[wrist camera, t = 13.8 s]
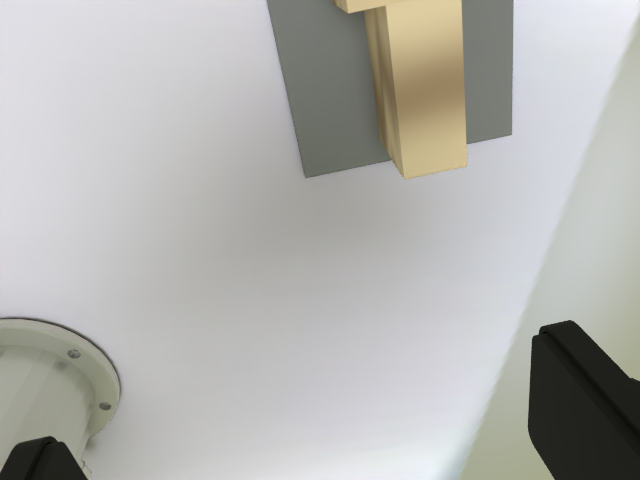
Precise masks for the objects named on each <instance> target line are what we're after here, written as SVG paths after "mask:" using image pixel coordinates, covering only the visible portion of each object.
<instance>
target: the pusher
mask: <svg viewBox="0 0 640 480" xmlns="http://www.w3.org/2000/svg"><path fill="white" fill-rule="evenodd" d="M332 3H333V4H334V5H336V6H337V7H339V8H341V9H342V10H344V11H345V12H347V13H353V12H357V11H362V10H364V15H365V23H366V31H367V39H368V46H369V54H370V62H371V70H372V78H373V86H374V94H375V102H376V109H377V117H378V125H379V133H380V141H381V143H382V145H383V146H384V148H385V149H386V151H387V153H388V154H389V156H390V157H391V159H392V161H393V162H394V164H395V165H396V167H397V169H398V170H399V172H400V173H401V175H402V177H403V178H404V179H409V178H413V177H418V176H423V175H428V174H433V173H437V172H442V171H447V170H452V169H457V168H461V167H466V166H467V147H466V118H465V89H464V60H463V31H462V2H461V0H332Z"/></svg>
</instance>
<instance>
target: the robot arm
mask: <svg viewBox="0 0 640 480" xmlns="http://www.w3.org/2000/svg"><path fill="white" fill-rule="evenodd" d="M531 352H532V353H531V372H530V394H529V413H528V431H529V435H530V438H531V441H532V443H533V445H534V447H535V448H536V450H537V452H538V453H539V455H540V457H541V458H542V460H543V461H544V463H545V465H546V466H547V468H548V469H549V471H550V473H551V474H552V476H553V477H554V479H555V480H640V381H638V380H635V379H633V378H629V377H628V376H627V375H626V374H625V373H624V372H623V371H622V370H621V369H620V367H619V366H618V365H617V364H616V363H615V362H614V361H613V360H611V358H610V357H609V356H608V355H607V354H606V353H605V352H604V351H603V350H602V349H601V348H600V347H599V346H598V345H597V344H596V343H595V342H594V341H593V340H592V339H591V338H590V337H589V336H588V335H587V334H586V333H585V332H584V331H583V329H582V328H581V327H579V325H577V324H576V323H575V322H574V321H571V320H568V321H564V322H559V323H555V324H551V325H546V326H542V327H541V328H540V330H539V335H535V336H533V338H532V351H531ZM119 397H120V385H119V381H118V377H117V374H116V372H115V370H114V368H113V367H112V365H111V363H110V362H109V361H108V359H107V358H106V357H105V356H104V355H103V354H102V352H101V351H99V350H98V349H97V348H96V347H95V346H93V345H92V344H91V343H90V342H88V341H87V340H85V339H83V338H82V337H80V336H78V335H76V334H75V333H73V332H70V331H68V330H65V329H63V328H60V327H58V326H55V325H51V324H47V323H43V322H39V321H31V320H23V319H2V320H0V480H89V478H90V477H91V471H90V469H89V468H88V466H87V465H86V463H85V462H84V461H83V460H82V459H81V457H82V454H83V452H84V449H85V446H86V444H87V441H88V439H90V438H92V437H94V436H95V435H96V434H98V433H99V432H100V431H102V430H103V429H104V428H105V427H106V426H107V424H108V423H109V422H110V421H111V419H112V417H113V415H114V413H115V410H116V407H117V404H118V400H119Z"/></svg>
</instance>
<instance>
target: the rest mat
mask: <svg viewBox="0 0 640 480" xmlns="http://www.w3.org/2000/svg"><path fill="white" fill-rule="evenodd" d="M461 2H462V31H463V60H464V89H465V118H466V144H471V143H476V142H480V141H485V140H490V139H495V138H499V137H504V136H509V135H512V71H513V0H461ZM267 3H268V8H269V12H270V17H271V21H272V26H273V30H274V35H275V40H276V44H277V49H278V53H279V58H280V63H281V67H282V72H283V76H284V81H285V86H286V90H287V95H288V99H289V104H290V109H291V113H292V118H293V122H294V127H295V131H296V136H297V141H298V145H299V150H300V154H301V159H302V164H303V168H304V173H305V177H306V178H309V177H314V176H319V175H323V174H328V173H333V172H338V171H342V170H347V169H352V168H357V167H361V166H366V165H371V164H376V163H380V162H385V161H390V160H392V159H391V157H390V156H389V154H388V153H387V151H386V149H385V148H384V146H383V145H382V143H381V141H380V133H379V125H378V117H377V109H376V102H375V94H374V86H373V78H372V70H371V62H370V54H369V46H368V39H367V31H366V23H365V15H364V10H362V11H357V12H353V13H347V12H345V11H344V10H342V9H341V8H339V7H337V6H336V5H334V4H333V3H332V0H267Z"/></svg>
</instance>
